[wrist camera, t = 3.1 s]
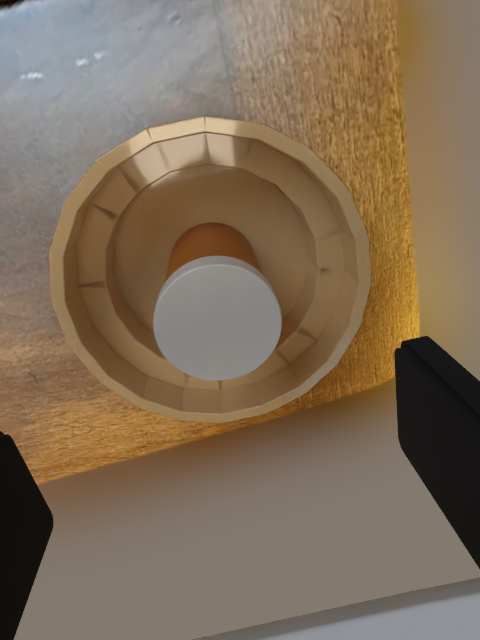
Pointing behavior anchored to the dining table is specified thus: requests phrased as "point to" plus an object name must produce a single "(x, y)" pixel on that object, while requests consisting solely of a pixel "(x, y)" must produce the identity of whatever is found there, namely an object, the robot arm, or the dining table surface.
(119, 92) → the dining table surface
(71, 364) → the dining table surface
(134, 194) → the beige round dish
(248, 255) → the pill bottle
